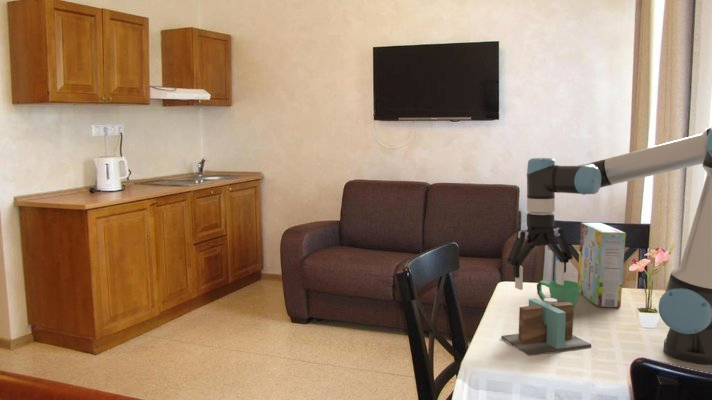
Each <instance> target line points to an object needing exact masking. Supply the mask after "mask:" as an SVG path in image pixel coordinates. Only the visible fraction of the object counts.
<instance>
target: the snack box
mask: <svg viewBox="0 0 712 400" xmlns="http://www.w3.org/2000/svg"><path fill="white" fill-rule="evenodd" d="M579 236H580V237H579V251H578V253H579V255H578V270H577V271H578V273H577V284H578V286H579V284H580V285H581V288H580V292H579V294H580V295H582V296H583V297H584V298H586V299H587V300H589V301H590V302H591V303H593V304H594V305H595V306H596V307H598V308H621V306H622V291H623V287H622V286H623V278H624V277H623V276H624V262H625V249H626V238H627V237H626V236H627V233H626V232H624V231H622V230H620V229H617V228H614V227H613V226H610V225H607V224H606V223H602V222H580V235H579Z"/></svg>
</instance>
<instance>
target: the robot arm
mask: <svg viewBox="0 0 712 400" xmlns="http://www.w3.org/2000/svg"><path fill="white" fill-rule="evenodd" d="M698 165H702V166H701V167H702V168H703V169H704V171H705V172H706V177H705V180H704V184H703V188H702V191H701V194H700V196H699V197H700V198H699V201H698V203H697V208H696V211H695V215H694V218H693V220H692V224H691V227H690V231H689V235H688V238H687V240H686V241H687V242H686V246H685V248H684V252H683V255H682V258H681V261H680V265H679V266H678V267H677V268H674V269H672V270H671V272H670V276H669V279H668V282H667V286H666V289H665V292H664V293H663V294H662V296H661V297H660V298H659V301H658V313H659V317H660V319H661V320H662V322H663V323H664V324H665V325H666V326H667V327H668V328H669V329H668V331H667V335H666V337H665V338H664V340H663V351H664V352H665V353H666V354H668V355H669V356H671V357H673V358H675V359H678V360H681V361H685V362H689V363H695V364H703V365H705V364H707V365H712V126H711V127H707V128H705V129H704V131H702V133H698V134H695V135H692V136H688V137H687V136H686V137H684V138H681V139H677V140H672V141H669V142H665V143H661V144H658V145H654V146H650V147H647V148H643V149H638V150H635V151H630V152H628V153H624V154H620V155H619V154H618V155H614V156H612V157H608V158H605V159H601V160H597V161H593V162H589V163H585V164H584V163H583V164H580V165H558V164H557V163H556V159H555V158H552V157H533V158H530V159H529V160H528V161H527V170H526V211H527V214H526V227H527V229H526V231H522V230H517V231H516V238H515V241H514V243H513V245H512V248H511V250H510V252H509V255H508V257H507V259H506V264H508V265H510V266H512V276H513V278H514V279H515V281H514V282H515V283H514V288H515V289H518V290H520V291H523V287H524V286H523V285H524V282H523V281H524V280H523V279H524V278H523V277H524V275H523V274H524V266H521V265H522V264H523V263H524V261H525V259H526V258H527V257H528V255H529V254H530V252H531V251H532V249H534V248H535V247H541V246H548V248H549V249H550V251H551V252H552V253H553V254H554V256H555V257H556V258H557V259H558V260H556V261H555V262H556V264H555V266H556V267H555V280H556V283H557V284H560V285H564V280H565V273H566V272H567V264H568V263H569V262H570V260H573V255H572V251H571V249H570V247H569V245H568V243H567V241H566V238H565V234H564V229H563V228H560V227H555V228H554V226H555V214H554V212H555V209H556V208H555V198H556V197H555V196H556V195H555V193H556V194H558V193H559V194H560V193H561V194H562V193H563V194H578V195H584V196H585V195H596V194H598V192H599V190H600V189H601V188H604V187H609V186H612V185H617V184H621V183H625V182H630V181H634V180H638V179H643V178H648V177H650V176H655V175H660V174H663V173H668V172H673V171H676V170H677V171H678V170H681V169H686V168H689V167H693V166H698ZM553 236H555V239H556V241H557V244H558V245H557V244H556V241H555V239H553Z"/></svg>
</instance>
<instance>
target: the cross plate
mask: <svg viewBox="0 0 712 400" xmlns="http://www.w3.org/2000/svg"><path fill="white" fill-rule="evenodd" d="M535 305H538V306H540V307H542V323H543V324H545V325H547V338H546V343H547V344H549V345H551V346H553V347H554V348H556V349H559V348H564V347H565V322H566V312H564V311H562V310H560V309H558V308H556V307H553V306H551V305H549V304H547V303H545V302H543V301H542V300H541V299H538V298H530V299H528V306H535Z"/></svg>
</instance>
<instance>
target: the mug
mask: <svg viewBox="0 0 712 400" xmlns="http://www.w3.org/2000/svg"><path fill="white" fill-rule="evenodd" d="M542 286H545V287H547V288H548V290H549V295H550V298H554V299H557V303H562V302H570V303H572V304H574V309H573V311H574V310H575V308H576V305H577V302H578V298H579V295H580V293H579V292H580V288H581V285H580V284H579V286H578V282H577V281H571V280H565V279H564V285H560V284H557V283H556V279H555V280H551V281H546V280H540V281H539V282H537V284H536V291H537V292H536V293H537V296H538V297H539V298H540V300H541V301H543V302H544V299H545V298H547V297H546V296H545V294H544V292H543V290H542Z"/></svg>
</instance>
